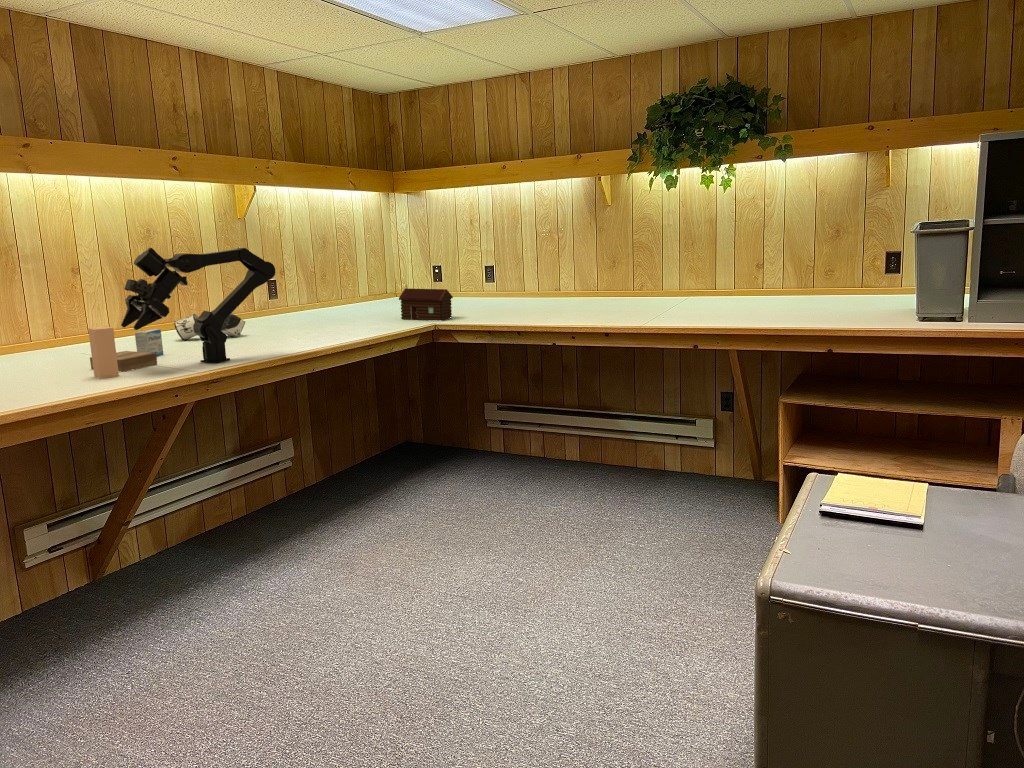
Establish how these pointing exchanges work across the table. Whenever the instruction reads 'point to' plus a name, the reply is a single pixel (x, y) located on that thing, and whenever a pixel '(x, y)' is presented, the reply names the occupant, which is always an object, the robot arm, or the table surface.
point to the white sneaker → (230, 328)
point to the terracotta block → (103, 352)
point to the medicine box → (149, 341)
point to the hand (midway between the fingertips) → (128, 327)
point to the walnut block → (133, 360)
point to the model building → (425, 304)
